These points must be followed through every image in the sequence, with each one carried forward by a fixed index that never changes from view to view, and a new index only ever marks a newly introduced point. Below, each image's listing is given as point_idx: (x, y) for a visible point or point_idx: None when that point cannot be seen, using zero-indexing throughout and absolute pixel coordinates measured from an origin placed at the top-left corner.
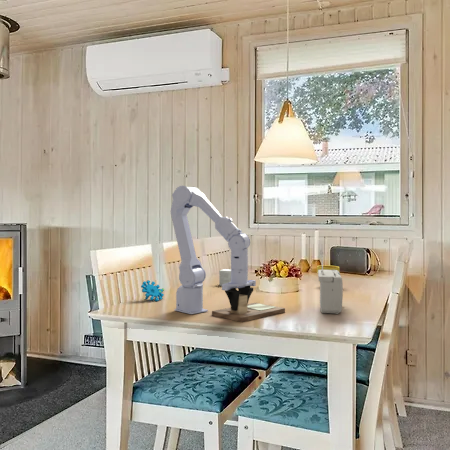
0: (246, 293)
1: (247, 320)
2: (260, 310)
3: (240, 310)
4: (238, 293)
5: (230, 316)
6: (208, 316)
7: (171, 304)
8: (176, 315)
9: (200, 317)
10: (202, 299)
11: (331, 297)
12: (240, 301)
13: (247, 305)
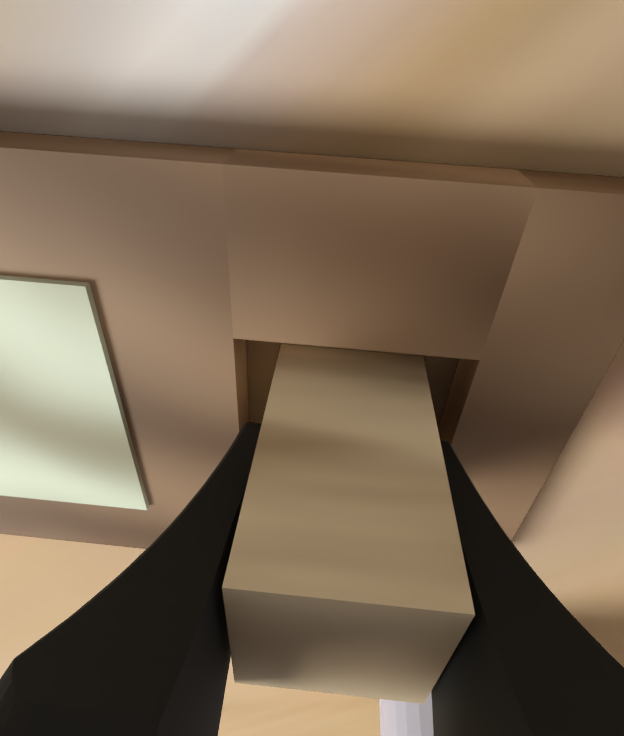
0: (204, 640)
1: (531, 172)
2: (87, 289)
3: (408, 410)
4: (570, 708)
5: (580, 394)
6: (536, 546)
7: (365, 732)
8: (617, 656)
9: (606, 563)
10: (432, 731)
11: None
12: (424, 519)
13: (55, 514)
